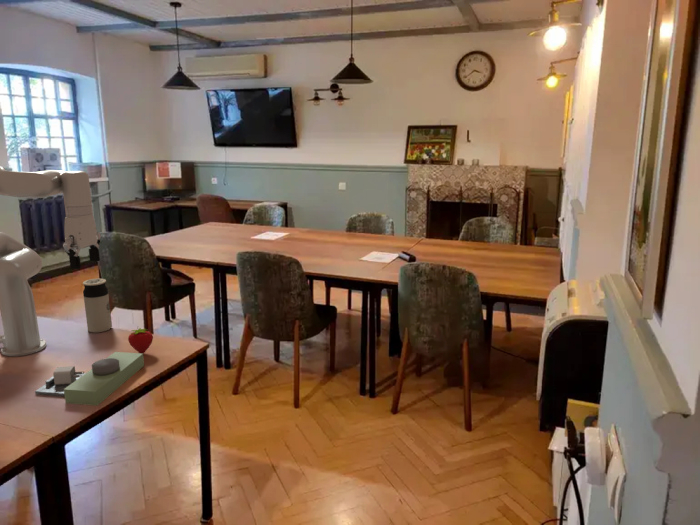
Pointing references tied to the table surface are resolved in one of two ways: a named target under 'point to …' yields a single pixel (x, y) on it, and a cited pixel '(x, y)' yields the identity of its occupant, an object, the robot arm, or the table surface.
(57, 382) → the usb wall charger
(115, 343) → the table surface
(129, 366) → the green slab with knob
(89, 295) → the travel mug
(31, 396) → the table surface
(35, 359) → the table surface
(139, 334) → the strawberry
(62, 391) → the grey plate with ledge
